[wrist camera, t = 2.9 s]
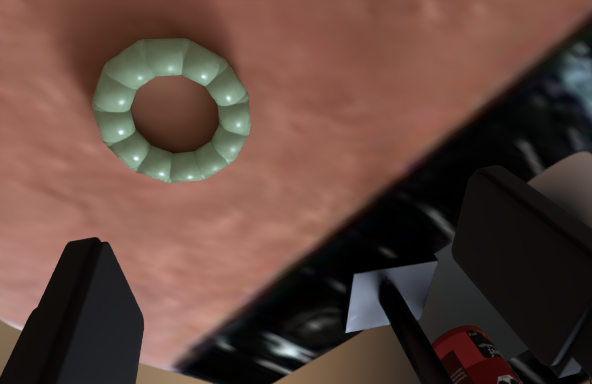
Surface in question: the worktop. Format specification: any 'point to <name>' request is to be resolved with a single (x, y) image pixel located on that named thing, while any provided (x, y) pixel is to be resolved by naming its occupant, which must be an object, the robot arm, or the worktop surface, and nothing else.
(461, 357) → the canned food
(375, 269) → the stand
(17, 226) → the worktop surface
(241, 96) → the ring
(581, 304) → the robot arm
